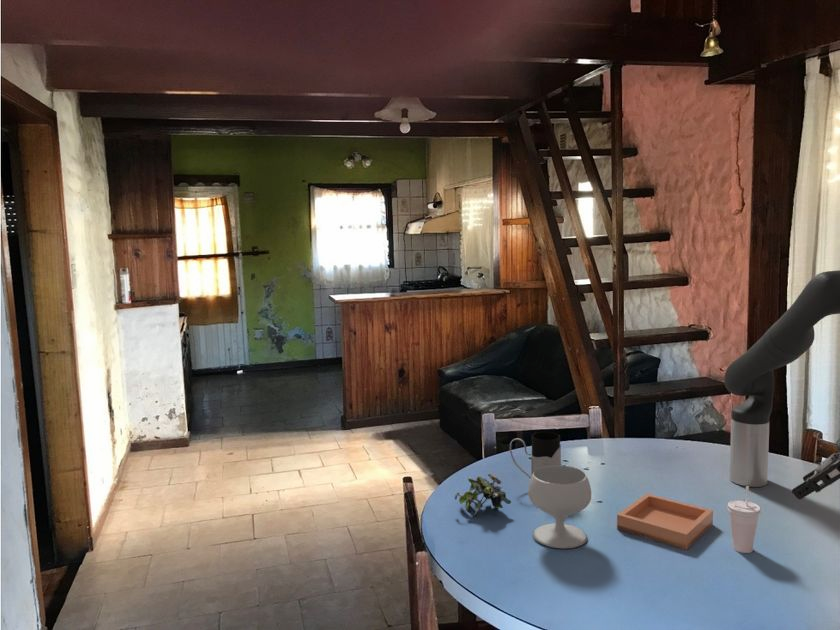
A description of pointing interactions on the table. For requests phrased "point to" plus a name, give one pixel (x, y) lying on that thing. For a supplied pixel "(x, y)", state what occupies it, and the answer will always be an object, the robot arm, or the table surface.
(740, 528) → the smoothie
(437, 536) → the table surface
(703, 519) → the dish
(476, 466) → the table surface
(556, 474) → the chalice
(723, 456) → the table surface
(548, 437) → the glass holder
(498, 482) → the leafy green plant
